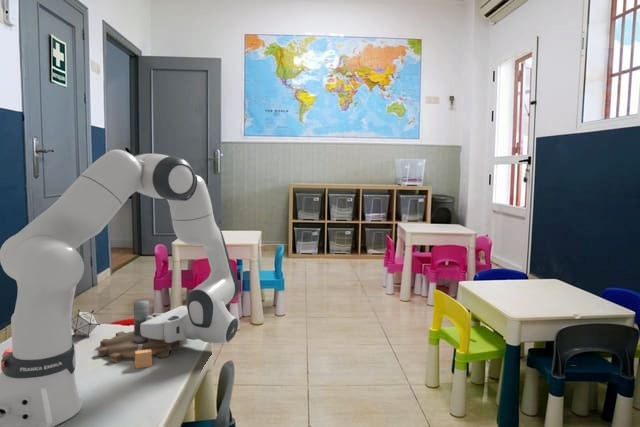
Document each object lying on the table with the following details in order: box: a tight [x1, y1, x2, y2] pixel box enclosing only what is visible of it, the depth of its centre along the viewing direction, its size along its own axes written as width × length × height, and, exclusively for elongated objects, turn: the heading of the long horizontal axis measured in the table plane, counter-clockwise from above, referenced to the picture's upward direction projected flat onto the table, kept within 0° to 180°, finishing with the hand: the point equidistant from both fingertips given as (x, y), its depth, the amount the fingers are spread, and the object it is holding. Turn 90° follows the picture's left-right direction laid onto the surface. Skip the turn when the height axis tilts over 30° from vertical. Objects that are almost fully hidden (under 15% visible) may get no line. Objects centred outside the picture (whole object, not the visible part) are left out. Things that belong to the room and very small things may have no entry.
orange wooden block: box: [134, 349, 153, 369], centre depth 126 cm, size 4×2×4 cm, turn 114°
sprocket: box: [97, 299, 182, 363], centre depth 138 cm, size 23×23×12 cm
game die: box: [71, 309, 101, 339], centre depth 146 cm, size 9×8×10 cm
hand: (149, 317), depth 144 cm, fingers closed
